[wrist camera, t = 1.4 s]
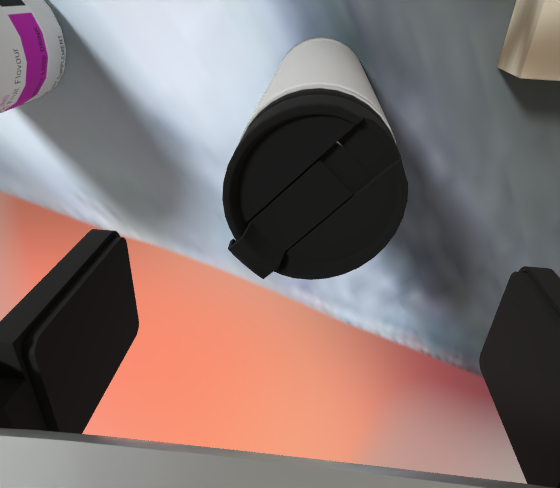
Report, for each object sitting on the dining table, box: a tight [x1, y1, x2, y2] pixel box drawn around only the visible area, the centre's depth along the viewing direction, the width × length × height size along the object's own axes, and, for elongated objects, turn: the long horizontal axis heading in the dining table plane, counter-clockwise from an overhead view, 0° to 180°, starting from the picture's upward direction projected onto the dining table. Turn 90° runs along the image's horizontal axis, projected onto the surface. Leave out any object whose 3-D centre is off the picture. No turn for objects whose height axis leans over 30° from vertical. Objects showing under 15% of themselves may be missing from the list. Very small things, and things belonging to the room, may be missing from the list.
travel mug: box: [223, 37, 408, 280], centre depth 22 cm, size 6×7×20 cm
